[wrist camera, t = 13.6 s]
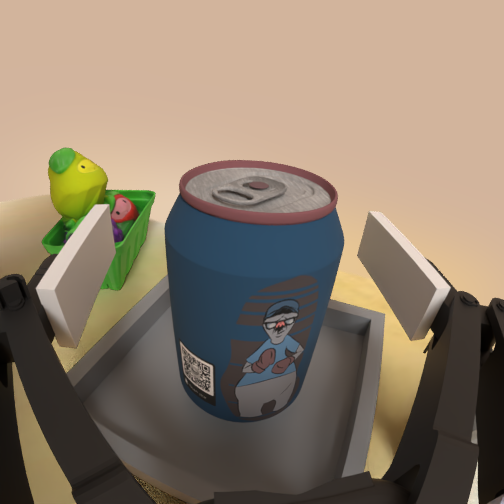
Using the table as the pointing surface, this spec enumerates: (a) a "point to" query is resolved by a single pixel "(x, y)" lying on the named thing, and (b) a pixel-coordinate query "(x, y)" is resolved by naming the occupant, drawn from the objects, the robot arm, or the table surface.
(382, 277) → the robot arm
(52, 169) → the fruit basket
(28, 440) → the table surface
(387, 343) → the table surface
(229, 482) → the grey tray
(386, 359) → the table surface
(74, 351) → the table surface
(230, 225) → the soda can
